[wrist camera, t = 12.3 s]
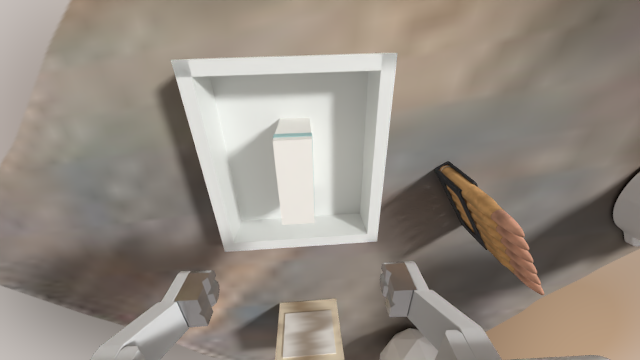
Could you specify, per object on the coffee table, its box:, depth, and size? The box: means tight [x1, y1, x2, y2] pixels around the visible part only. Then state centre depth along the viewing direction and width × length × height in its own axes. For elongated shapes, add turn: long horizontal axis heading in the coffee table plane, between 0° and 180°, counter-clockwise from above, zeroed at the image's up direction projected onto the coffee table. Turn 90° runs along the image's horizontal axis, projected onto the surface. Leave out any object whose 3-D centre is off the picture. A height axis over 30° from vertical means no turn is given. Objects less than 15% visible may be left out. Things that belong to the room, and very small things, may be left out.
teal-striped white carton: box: [273, 118, 315, 225], centre depth 23 cm, size 3×8×7 cm, turn 1°
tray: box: [171, 53, 397, 252], centre depth 25 cm, size 17×19×5 cm
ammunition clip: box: [435, 161, 544, 295], centre depth 26 cm, size 11×2×12 cm, turn 34°
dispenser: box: [275, 299, 344, 360], centre depth 36 cm, size 9×6×10 cm
